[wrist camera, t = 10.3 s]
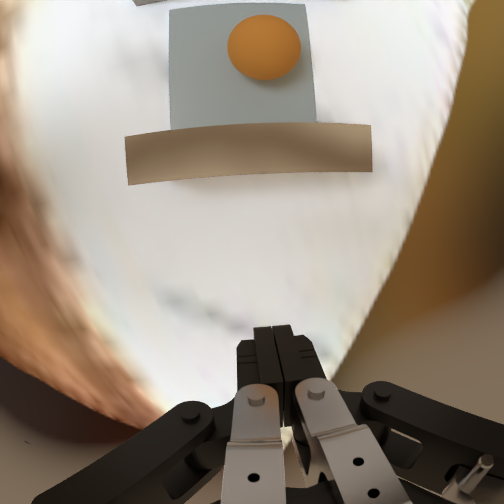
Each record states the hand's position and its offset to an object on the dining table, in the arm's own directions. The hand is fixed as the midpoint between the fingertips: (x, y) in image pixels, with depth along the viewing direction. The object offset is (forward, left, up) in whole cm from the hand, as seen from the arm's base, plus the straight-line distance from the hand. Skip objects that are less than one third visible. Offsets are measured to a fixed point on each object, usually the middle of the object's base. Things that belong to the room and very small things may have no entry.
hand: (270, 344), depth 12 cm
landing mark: (0, +17, -17) cm, 24 cm away
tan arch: (0, +8, -17) cm, 19 cm away
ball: (+2, +17, -14) cm, 22 cm away
